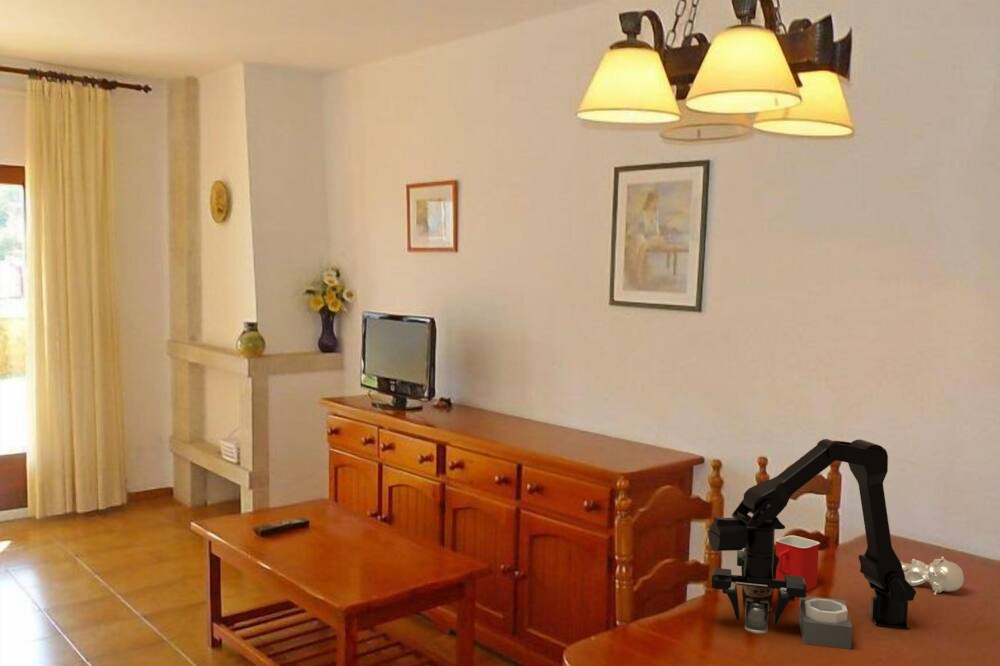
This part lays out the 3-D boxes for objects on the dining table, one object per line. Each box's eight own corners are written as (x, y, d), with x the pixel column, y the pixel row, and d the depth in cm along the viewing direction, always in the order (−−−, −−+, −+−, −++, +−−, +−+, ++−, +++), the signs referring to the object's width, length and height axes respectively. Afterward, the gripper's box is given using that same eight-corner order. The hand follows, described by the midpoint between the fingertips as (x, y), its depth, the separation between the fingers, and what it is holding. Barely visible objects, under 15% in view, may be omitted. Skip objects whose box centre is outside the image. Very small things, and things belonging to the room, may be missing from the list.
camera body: (843, 626, 188) (845, 596, 187) (851, 649, 176) (852, 617, 176) (798, 621, 190) (800, 591, 189) (803, 643, 178) (804, 611, 178)
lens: (767, 626, 187) (768, 598, 187) (768, 634, 182) (769, 606, 182) (744, 623, 188) (745, 595, 188) (744, 631, 184) (746, 603, 183)
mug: (789, 577, 219) (791, 534, 218) (820, 586, 212) (822, 542, 212) (762, 587, 211) (763, 543, 210) (793, 597, 205) (795, 551, 204)
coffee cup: (779, 617, 192) (781, 558, 191) (739, 613, 194) (742, 555, 193) (775, 602, 201) (777, 546, 200) (737, 599, 202) (739, 543, 201)
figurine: (896, 545, 220) (960, 548, 209) (908, 563, 223) (971, 566, 212) (887, 582, 214) (952, 587, 203) (899, 600, 217) (964, 605, 206)
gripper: (803, 542, 190) (800, 614, 191) (713, 534, 194) (711, 604, 195) (808, 558, 179) (804, 633, 180) (713, 549, 184) (710, 623, 185)
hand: (756, 622), depth 185 cm, fingers open, 7 cm apart
